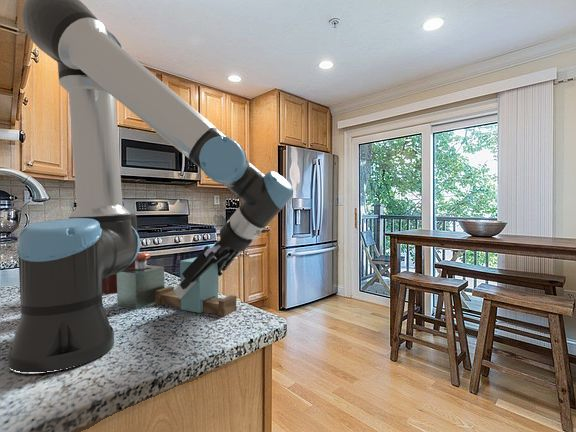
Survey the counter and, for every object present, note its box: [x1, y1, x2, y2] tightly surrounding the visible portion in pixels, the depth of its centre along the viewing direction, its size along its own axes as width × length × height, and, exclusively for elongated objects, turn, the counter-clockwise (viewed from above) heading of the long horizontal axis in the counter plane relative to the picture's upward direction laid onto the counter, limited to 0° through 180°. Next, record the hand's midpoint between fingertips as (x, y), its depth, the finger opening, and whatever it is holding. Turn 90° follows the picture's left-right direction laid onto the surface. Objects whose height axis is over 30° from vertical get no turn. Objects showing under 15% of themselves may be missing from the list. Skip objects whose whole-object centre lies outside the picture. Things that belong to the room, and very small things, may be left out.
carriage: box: [179, 256, 219, 314], centre depth 79 cm, size 6×7×12 cm
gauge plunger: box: [135, 252, 151, 271], centre depth 84 cm, size 5×5×6 cm
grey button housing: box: [116, 264, 165, 310], centre depth 84 cm, size 7×9×9 cm
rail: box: [154, 286, 237, 317], centre depth 80 cm, size 22×5×4 cm, turn 65°
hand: (189, 290), depth 81 cm, fingers closed on carriage, 7 cm apart
